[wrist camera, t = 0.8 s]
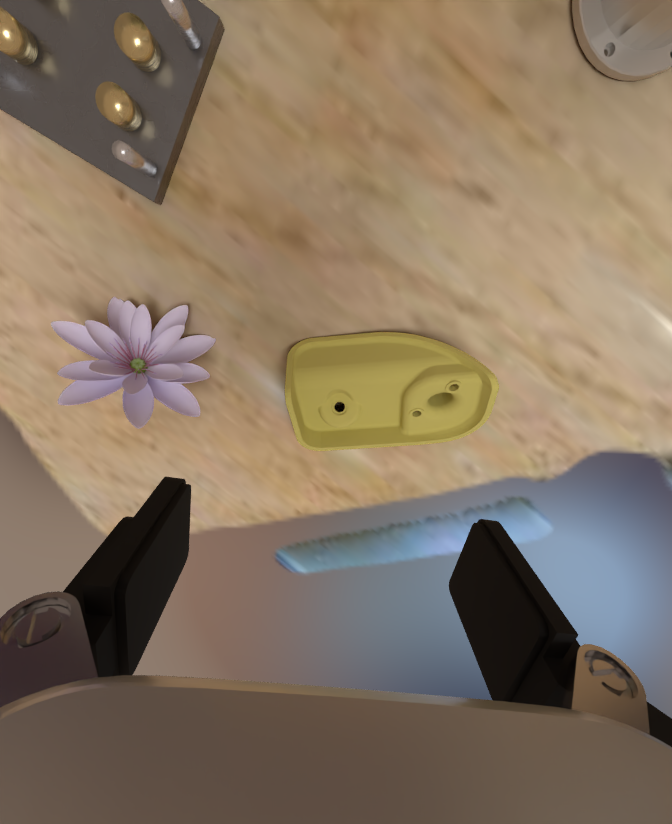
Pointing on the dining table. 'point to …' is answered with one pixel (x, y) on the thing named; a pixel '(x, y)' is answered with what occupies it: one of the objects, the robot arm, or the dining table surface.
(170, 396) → the water lily
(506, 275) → the dining table surface
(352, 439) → the plastic component
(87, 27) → the chassis
